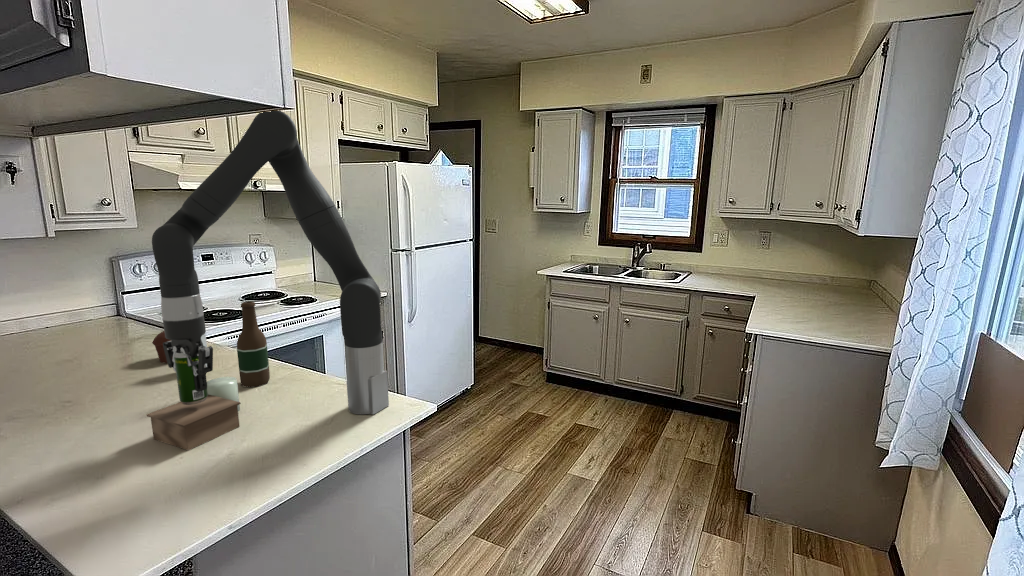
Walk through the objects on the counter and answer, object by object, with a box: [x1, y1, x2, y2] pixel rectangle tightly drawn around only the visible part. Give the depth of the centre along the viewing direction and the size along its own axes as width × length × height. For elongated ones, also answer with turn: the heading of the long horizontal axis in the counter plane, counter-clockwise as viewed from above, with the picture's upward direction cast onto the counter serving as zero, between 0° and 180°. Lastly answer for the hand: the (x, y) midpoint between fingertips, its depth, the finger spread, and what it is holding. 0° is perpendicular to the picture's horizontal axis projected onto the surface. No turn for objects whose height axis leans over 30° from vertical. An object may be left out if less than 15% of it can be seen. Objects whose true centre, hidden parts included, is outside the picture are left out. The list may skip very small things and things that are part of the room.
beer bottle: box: [236, 300, 271, 388], centre depth 140 cm, size 8×8×24 cm
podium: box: [146, 394, 241, 451], centre depth 111 cm, size 13×13×6 cm
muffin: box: [151, 330, 173, 364], centre depth 162 cm, size 12×11×10 cm
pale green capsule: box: [207, 376, 241, 413], centre depth 122 cm, size 7×7×8 cm
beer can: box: [174, 351, 208, 405], centre depth 109 cm, size 5×5×12 cm
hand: (192, 387), depth 110 cm, fingers closed on beer can, 5 cm apart
